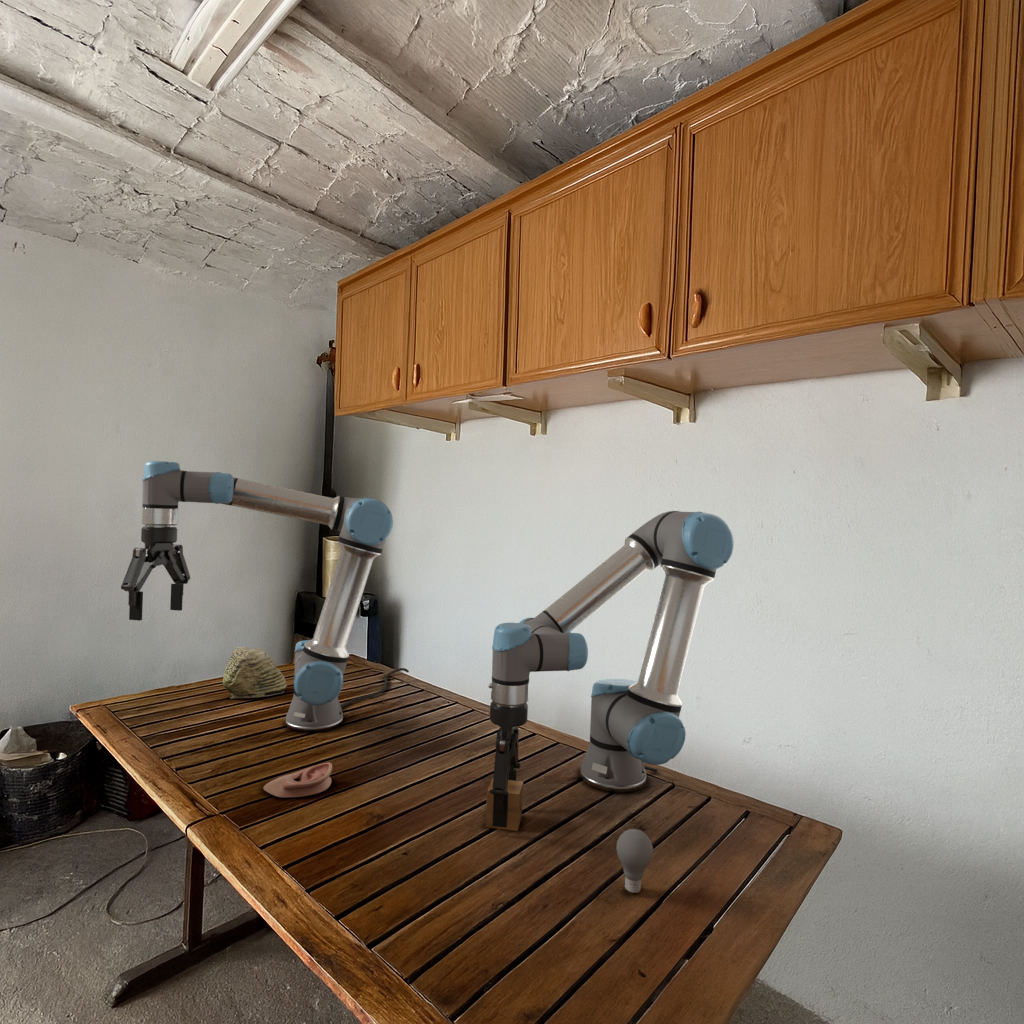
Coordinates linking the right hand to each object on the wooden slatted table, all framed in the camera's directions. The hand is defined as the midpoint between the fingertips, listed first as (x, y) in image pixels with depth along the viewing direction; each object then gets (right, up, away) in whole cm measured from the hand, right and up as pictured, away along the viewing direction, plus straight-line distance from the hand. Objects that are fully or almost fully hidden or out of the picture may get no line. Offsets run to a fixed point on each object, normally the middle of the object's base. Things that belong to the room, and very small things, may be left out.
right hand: (504, 812), depth 127 cm
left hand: (-83, +36, +25) cm, 94 cm away
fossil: (-79, +3, +71) cm, 107 cm away
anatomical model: (-45, 0, +11) cm, 46 cm away
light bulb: (+22, -3, -21) cm, 30 cm away
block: (0, -2, 0) cm, 2 cm away
